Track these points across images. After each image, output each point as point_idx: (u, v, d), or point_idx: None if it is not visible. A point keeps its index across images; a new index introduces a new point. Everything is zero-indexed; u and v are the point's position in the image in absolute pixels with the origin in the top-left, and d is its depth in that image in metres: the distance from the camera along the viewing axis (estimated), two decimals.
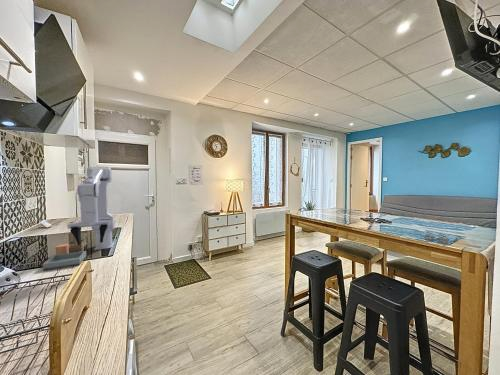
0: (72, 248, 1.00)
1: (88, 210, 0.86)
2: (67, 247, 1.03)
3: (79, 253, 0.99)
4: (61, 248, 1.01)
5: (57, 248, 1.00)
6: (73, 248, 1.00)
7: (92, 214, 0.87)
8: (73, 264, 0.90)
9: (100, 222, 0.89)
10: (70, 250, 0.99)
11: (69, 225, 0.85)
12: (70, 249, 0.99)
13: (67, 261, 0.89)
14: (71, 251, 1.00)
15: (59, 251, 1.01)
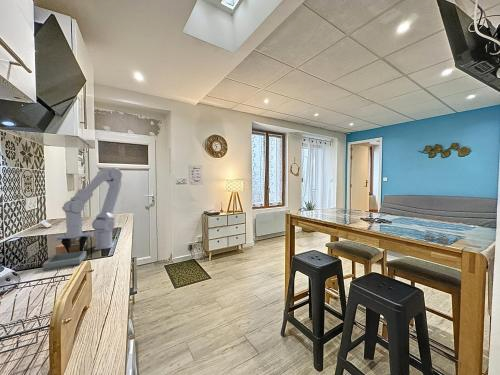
0: (72, 248, 1.00)
1: (67, 224, 0.98)
2: None
3: (79, 253, 0.99)
4: (61, 248, 1.01)
5: (57, 248, 1.00)
6: (73, 248, 1.00)
7: (76, 228, 1.00)
8: (73, 264, 0.90)
9: (84, 234, 1.01)
10: (70, 250, 0.99)
11: (56, 237, 0.98)
12: (70, 249, 0.99)
13: (67, 261, 0.89)
14: (71, 251, 0.99)
15: (59, 251, 1.01)
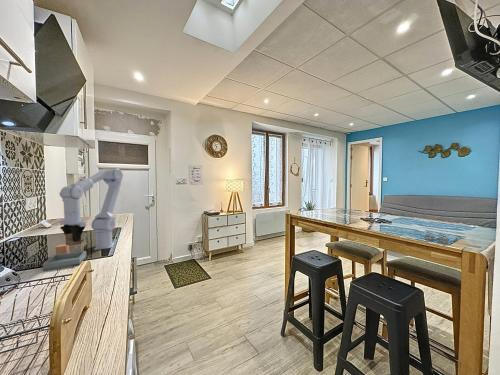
0: (67, 235, 0.96)
1: (66, 210, 0.94)
2: (67, 247, 1.03)
3: (79, 253, 0.99)
4: (61, 248, 1.01)
5: (57, 248, 1.00)
6: (68, 235, 0.96)
7: (69, 215, 0.95)
8: (73, 264, 0.90)
9: (74, 223, 0.95)
10: (66, 237, 0.96)
11: (60, 222, 0.99)
12: (66, 236, 0.96)
13: (67, 261, 0.89)
14: (67, 238, 0.96)
15: (59, 251, 1.01)
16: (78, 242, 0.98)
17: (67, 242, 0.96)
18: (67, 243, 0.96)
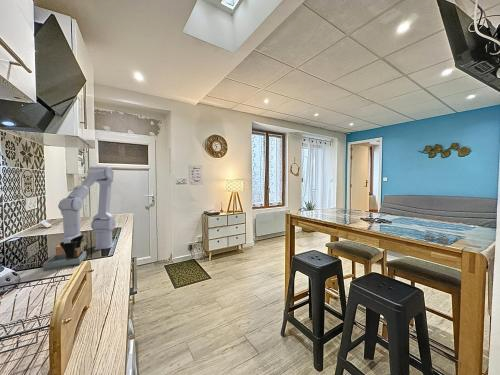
0: None
1: (67, 224, 0.91)
2: None
3: None
4: (61, 248, 1.01)
5: (57, 248, 1.00)
6: None
7: (64, 228, 0.91)
8: (73, 264, 0.90)
9: (63, 237, 0.89)
10: None
11: None
12: None
13: (67, 261, 0.89)
14: None
15: (59, 251, 1.01)
16: None
17: None
18: None
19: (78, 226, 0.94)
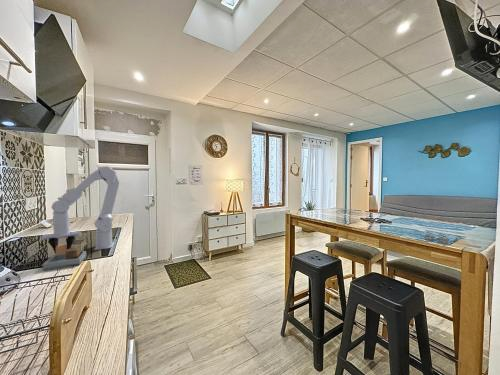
0: None
1: (53, 224, 1.00)
2: None
3: None
4: (61, 247, 1.01)
5: (57, 248, 1.00)
6: None
7: (63, 227, 1.01)
8: (73, 264, 0.90)
9: (71, 234, 1.02)
10: None
11: (43, 237, 0.99)
12: None
13: (67, 261, 0.89)
14: None
15: (59, 251, 1.01)
16: None
17: None
18: None
19: None
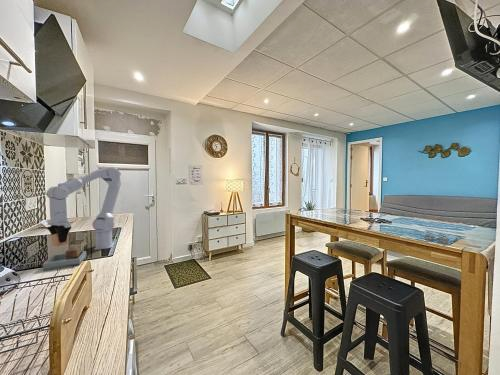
0: None
1: (51, 211, 0.94)
2: None
3: None
4: (54, 236, 0.95)
5: (52, 236, 0.96)
6: None
7: (54, 215, 0.94)
8: (73, 264, 0.90)
9: (59, 223, 0.93)
10: None
11: (48, 222, 0.98)
12: None
13: (67, 261, 0.89)
14: None
15: (53, 240, 0.95)
16: None
17: None
18: None
19: (66, 213, 0.98)
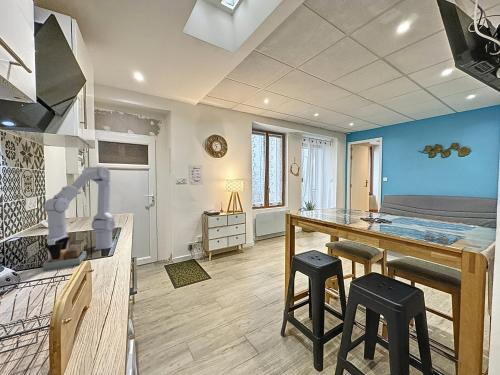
0: None
1: (50, 225, 0.89)
2: None
3: None
4: None
5: None
6: None
7: (48, 229, 0.89)
8: (73, 264, 0.90)
9: (48, 239, 0.87)
10: None
11: None
12: None
13: (67, 261, 0.89)
14: None
15: None
16: None
17: None
18: None
19: (64, 227, 0.92)
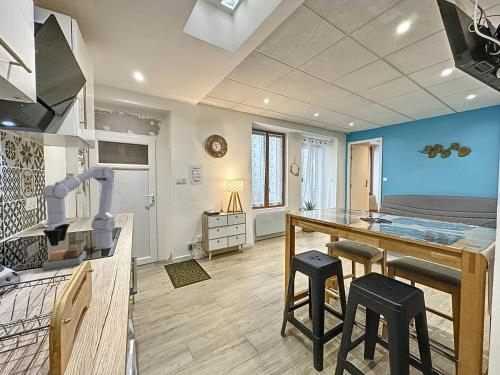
0: None
1: (49, 211, 0.88)
2: (55, 255, 0.90)
3: None
4: None
5: None
6: None
7: (48, 215, 0.89)
8: (73, 264, 0.90)
9: None
10: None
11: None
12: None
13: (67, 261, 0.89)
14: None
15: None
16: None
17: None
18: None
19: (63, 214, 0.91)
